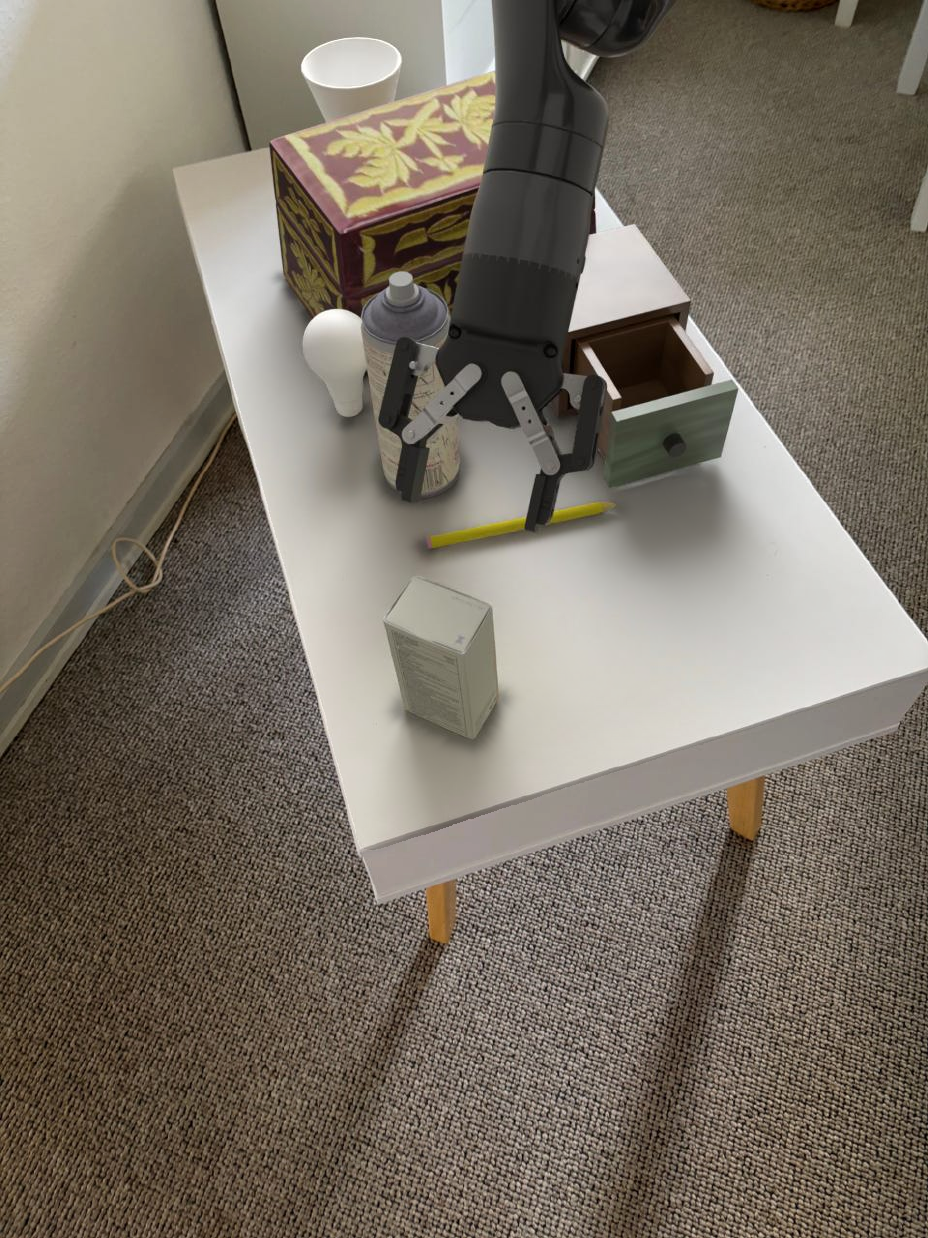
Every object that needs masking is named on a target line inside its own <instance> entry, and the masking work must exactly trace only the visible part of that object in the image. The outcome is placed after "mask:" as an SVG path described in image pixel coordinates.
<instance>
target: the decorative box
mask: <svg viewBox="0 0 928 1238" xmlns="http://www.w3.org/2000/svg"><path fill="white" fill-rule="evenodd" d="M494 111H495V70H492V71H489V72H488V71H487V72H485V73H482V74H478V75H475V76H472V77H469V78H466V79H461V80H459V81H456V82H452V83H450V84H447V85H442V86H440V87H436V88H433V89H429V90H427V91H424V92H420V93H418V94H414V95H411V96H407V97H404V98H401V99H398V100H394V102H391V103H388V104H385V105H381V106H378V107H375V108H372V109H368V110H365V111H362V112H359V113H356V114H352V115H349V116H346V117H343V118H339V119H336V120H333V121H330V122H326V121H325V122H324V123H320V124H317V125H314V126H310V127H307V128H304V129H301V130H298V131H294V132H292V133H288V134H286V135H282V136H279V137H276V138H274V139H272V140H269V144H268V146H269V157H270V165H271V173H272V174H271V175H272V182H273V183H272V185H273V193H274V199H275V200H274V201H275V209H276V210H275V211H276V220H277V230H278V238H279V247H280V256H281V264H282V266H281V267H282V273H283V277H284V278H285V279H286V281H287V283H288V284H289V286H290V288H292V290H293V292H294V294H296V296H297V298H298V299H299V300H300V302H301V303H302V305H303V306H304V308H305V309H306V311H307V312H308V314H309V315H310V316H311V318H312V319H313V318H314V317H315V316H317V315H318V314H320V313H321V312H324V311H327V310H331V309H343V310H347V311H350V312H352V313H354V314H356V315H357V316H358V317H360V318H361V315H362V310H363V308H364V306H365V305H366V303H367V302H368V301H369V300H370V299H371V298H372V297H374V296H375V295H376V294H378V293H380V292H382V291H383V290H384V289H386V288H387V287H389V278H390V276H391V275H392V274H394V273H396V272H400V271H401V272H408V273H410V274H411V275H412V277H413V283H414V284H416V285H418V286H421V287H423V288H426V289H429V290H431V291H433V292H435V293H437V294H439V295H440V296H441V298H442V299H443V300H444V301H445V302H446V305H447V308H448V313H449V316H450V319H451V313H452V308H453V303H454V298H455V293H456V288H457V282H458V277H459V272H460V266H461V261H462V256H463V251H464V246H465V240H466V235H467V230H468V225H469V220H470V216H471V211H472V208H473V204H474V201H475V198H476V195H477V193H478V189H479V186H480V183H481V178H482V175H483V168H484V163H485V158H486V153H487V148H488V143H489V137H490V132H491V127H492V122H493V117H494ZM595 233H597V215H596V191H595V192H594V197H593V203H592V209H591V220H590V231H589V235H591V234H595ZM366 375H367V376H368V371H367V369H366V371H365V373H364V376H366Z"/></svg>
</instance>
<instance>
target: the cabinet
mask: <svg viewBox="0 0 928 1238" xmlns="http://www.w3.org/2000/svg"><path fill="white" fill-rule="evenodd" d="M585 257H586V261H585V266H584V270H583V273H582V274H581V276H580V281H579V285H578V290H577V295H576V299H575V303H574V308H573V313H572V317H571V322H570V327H569V331H568V336H567V340H566V345H565V350H564V354H563V367H564V371H565V373H566V374H573V370H574V356H575V341H576V338H580V337H584V336H588V335H592V334H596V333H600V332H604V331H607V330H611V329H615V328H619V327H623V326H627V325H631V324H635V323H638V322H642V321H646V320H650V319H654V318H658V317H662V316H665V315H669V314H673V315H674V317H675V318H676V320H677V321H678V322H679V324H680V325H681V327H682V328H683V329H684V331H685V332H686V331H687V326H688V321H689V315H690V310H691V309H690V308H691V304H692V300H691V298H690V297H689V296H688V294H687V293H686V292H685V290H684V289H683V288H682V286H681V285H680V284H679V282H678V281H677V279H676V278H675V277H674V275H673V274H672V273H671V271H670V270H669V268H668V267H667V266H666V265H665V263H664V262H663V260H662V259H661V257H660V256H659V255H658V253H657V252H656V250H655V249H654V248H653V246H652V245H651V244H650V243H649V241H648V240H647V238H646V237H645V236H644V234H643V233H642V231H641V230H640V229H639V227H638V226H637V225H636V223H633V224H628V225H624V226H620V227H616V228H612V229H608V230H603V231H600V232H596V233H595V234H591V235H589V238H588V244H587V249H586V253H585ZM686 333H687V332H686ZM548 405H550V407H551V409H552V411H553V413H554V415H555V417H556V418H557V419H558V420H559V419H563V418H567V417H571V416H574V415H578V413H577V411H576V409H575V408H574V407H573V406H572V405H571V403H570V394H569V392H568V391H567V390H566V389H563V390H562V392H561V393H560V394H559V395H558V396H556V397H555V398H554V399H553V400H552V401H551V402H550V403H549V404H548Z"/></svg>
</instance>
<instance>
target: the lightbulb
mask: <svg viewBox="0 0 928 1238" xmlns="http://www.w3.org/2000/svg"><path fill="white" fill-rule="evenodd" d="M361 324H362V320H361V318H360V317H358V316H357V315H356V314H354V313H352V312H350V311H347V310H343V309H331V310H327V311H324V312H321V313H320V314H318V315H317V316H315V317H314V318H312V319H311V320H310V322H309V323H308V324H307V325H306V328H305V329H304V332H303V333H304V334H303V337H302V353H303V356H304V359H305V361H306V364H307V365H308V367H309V368H310V369H311V370H312V371H313V372H314V373H315V374H316V375H317V377H319V378H321V379H322V380H323V382H324V383H325V385H326V387H327V391H328V393H329V396H330V398H331V399H332V401H333V404H334V407H335V410H336V413H337V414H339V416H342V417H345V418H350V417H354V416H358V414H359V413H361V411H362V410H363V408H364V405H363V392H364V376H365V375H364V373H365V371H366V369H367V364H366V358H365V352H364V345H363V339H362V333H361Z"/></svg>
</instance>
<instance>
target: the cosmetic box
mask: <svg viewBox="0 0 928 1238" xmlns="http://www.w3.org/2000/svg"><path fill="white" fill-rule="evenodd" d="M493 613H494V612H493V606H492V604H490V603H488V602H486V601H483V600H481V599H479V598H476V597H474V596H471V595H469V594H466V593H464V592H462V591H459V590H457V589H454V588H451V587H449V586H446V585H443V584H441V583H439V582H436V581H433V580H430V579H428V578H425V577H422V576H420V575H416V574H414V575H413V576H412V577H411V578H410V580H409V581H408V583H407V584H406V585H405V586H404V588H403V589H402V591H400V594H399V595H398V596H397V598H396V599H395V601H394V602H393V603H392V605H391V606H390V607H389V609H388V610H387V612H386V614H385V615H384V616H383V618H382V621H383V626H384V629H385V634H386V637H387V641H388V646H389V650H390V655H391V658H392V663H393V667H394V672H395V676H396V679H397V684H398V687H399V691H400V696H401V700H402V704H403V707H404V710H406V711H408V712H410V713H412V714H414V715H416V716H418V717H421V718H422V719H423V720H427V721H428V722H431V723H433V724H435V725H437V726H440V727H442V728H444V729H446V730H448V731H451V732H452V733H455V734H457V735H460V736H462V737H465V738H467V739H469V740H473V741H475V739H476V737H477V736H478V734H479V733H480V731H481V729H482V728H483V726H484V725H485V722H486V721H487V719H488V718H489V716H490V714H491V712H492V710H493V709H494V707H495V705H496V703H497V701H498V699H499V698H500V694H499V693H500V692H499V680H498V678H499V677H498V666H497V652H496V650H497V649H496V638H495V628H494V627H495V624H494V614H493Z"/></svg>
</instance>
